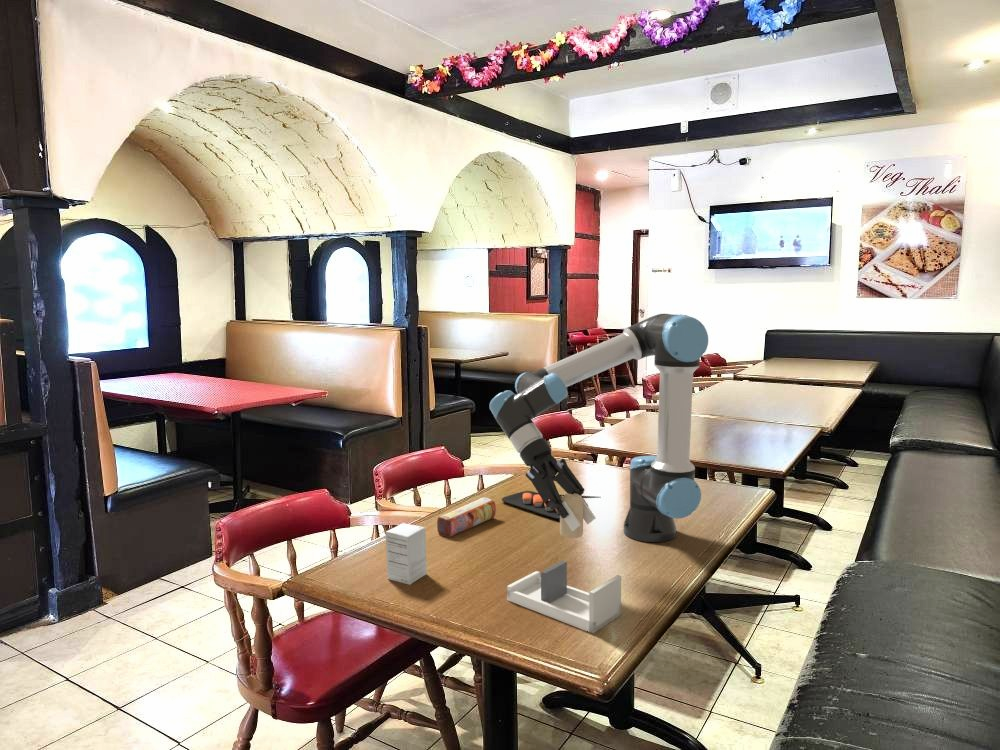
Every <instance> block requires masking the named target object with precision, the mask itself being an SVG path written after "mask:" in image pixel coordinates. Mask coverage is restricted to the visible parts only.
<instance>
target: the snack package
mask: <svg viewBox="0 0 1000 750" xmlns="http://www.w3.org/2000/svg"><path fill="white" fill-rule="evenodd" d="M496 512H497V506H496V502H495V501H494V500H493V499H491V498H488V497H485V496H484V497H481V498H478V499H476V500H474V501H472V502H470V503H467V504H465V505H463V506H460V507H458V508H456V509H454V510H452V511H449V512H447V513H445V514H442V515H439V516H438V517H437V521H436V524H437V526H436V527H437V533H438V535H440V536H443V537H446V538H451V537H453V536H455V535H457V534H459V533H461V532H464V531H467V530H469V529H472V528H473V527H475V526H477V525H481V524H483V523H485V522H487V521H489V520H493V519H494V518H495V516H496Z"/></svg>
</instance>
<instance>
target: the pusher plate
mask: <svg viewBox="0 0 1000 750" xmlns="http://www.w3.org/2000/svg"><path fill="white" fill-rule="evenodd" d="M540 576H541V600H542V601H544V602H547V603H551V602H553V601H555V600H556V599H558V598H560V597H561V596H563V595H565V594H567V586H568V562H567V561H565V560H561V561H559V562H557V563H555V564H553V565H552V566H550V567H547V568H546V569H543V570H541V572H540Z"/></svg>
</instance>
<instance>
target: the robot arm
mask: <svg viewBox="0 0 1000 750" xmlns="http://www.w3.org/2000/svg"><path fill="white" fill-rule="evenodd" d="M708 346H709V335H708V331H707V328H706V327H705V325H704V324H703V323H702V322H701V321H700V320H699V319H697V318H696V317H693V316H690V315H687V314H671V313H658V314H655V315H653V316H650V317H647V318H646V319H644V320H640V321H639V322H637V323H635V324H633V325H630V326H628V327H626V328H624V329H623V331H622V333H621V334H618V335H617V336H616V335H615V336H614V337H612V338H609V339H607V340H605V341H603V342H600V343H597V344H595V345H593V346H591V347H589V348H586V349H583V350H582V351H579V352H577V353H575V354H572V355H569V356H567V357H565V358H563V359H561V360H558V361H556V362H554V363H552V364H549V365H547V366H544V367H541V368H540V369H537V370H534V371H531V372H530V371H526V372H523V373H521V374H519V376H518V377H517V378H516V380H515V383H514V388H515V392H516V393H514V392H513V391H512V390H511V389H510V390H508V389H507V390H504V391H501V392H499V393H498V394H496V395H495V396H494V397H493V398H492V399H491V400H490V402H489V411H491V414H492V415H493V417H494V419H495V421H496V422H497V424H498V425H499V426H500V428H501V429H502V431H503V432H504V434H505V435H506V438H508V440H509V441H510V443H511V445H513V447H514V448H515V450H516V452H517V453H519V457H520V458H521V460H522V461H523V463H524V465H526V466H527V467H530V468H529V469H528V471H527V472H526V473H525V477H526V478H527V479H528V480H529V481H530V482H531V484H532V485H533V487H534V488H535V490H536V491H537V493H539V495H540V496H541V498H542V500H543V501H544V503H545V505H546V506H547V507H548V508H549V507H550V508H551V509H552V510H554V509H555V508H556V510H557V511H558V513H559V514H560V516H561V517H562V518H563V519H564V520H565V521H566V523H567V524H568V526H569V528H570V529H571V531H574V530H575V529H576V528H577V527H579V526H580V525H581V524H580V523H579V521H578V520H577V518H576V517H575V515H574V514H573V512H572V511H571V509H570V508H569V506H568V505H567V503H566V502H563V503H562V500H561V497H560V495H561V494H560V493H559V490H558V488H557V486H556V484H555V482H556V483H557V484H558V485H559V486H560V487H561V488H562V490H563V491H565V492H566V494H579V496H580V497H581V498H582V499H583V521H585V523H586V524H587V525H589V524H591V523H592V522H593V521H594V520H596V516H595V515H594V513H593V511H592V510H591V509H590V507H589V505H588V503H587V502H586V500H585V499H584V498H583V497H582V496H583V494H585V493H584V492H585V488H584V487H583V485H582V484H581V482H580V481H579V480H578V478H577V477H576V475H575V474H574V473H573V472H572V470H571V469H570V467H569V465H568V464H567V463H568V462H567V461H566V459H565V458H561V459H560V460H557V458H555V457H554V456H553V455H552V447H551V446H550V445H549V443H548V442H547V440H546V439H545V438H543V437H544V436H543V434H542V432H541V431H540V429H539V428H538V427H537V425H536V424H535V423H534V421H533V419H535V418H536V417H538V416H539V415H541V414H543V413H544V412H545V411H547V410H549V409H551V408H553V407H554V406H556V405H558V404H560V403H561V402H562V401H564V399H566V398H567V397H568V394H569V392H568V389H567V388H568V387H570V386H572V385H574V384H576V383H577V384H578V383H579V382H581V381H584V380H586V379H589V378H591V377H593V376H596V375H598V374H600V373H602V372H605V371H607V370H610V369H612V368H614V367H617V366H619V365H621V364H623V363H625V362H628V361H630V360H632V359H634V360H637V361H640V360H641V359H644V358H647V357H652V356H654V367H656V369H657V370H658V371H659V385H658V386H659V389H658V414H657V415H658V417H657V418H658V419H657V420H658V421H657V443H656V444H657V446H656V455H640V456H635V457H633V458H632V459H631V460H630V466H629V467H630V468H629V508H628V511H627V514H626V517H625V519H624V522H623V533H624V535H625V536H627V537H628V538H629V539H632V540H635V541H638V542H639V541H640V542H645V543H646V542H647V543H663V542H668V541H670V540H673V539H674V538H675V537H676V536H677V526H676V523H675V519H684V518H687V517H688V516H691V515H692V514H693V512H694V511H696V510H697V508H699V506H700V503H701V501H702V491H701V488H700V486H699V484H698V483H697V482H696V481H695V479H696V477H695V475H696V474H695V473H696V472H695V471H696V467H695V465H694V464H693V463H692V462H691V461H690V460H691V459H690V452H691V432H692V429H691V428H692V407H693V405H692V403H693V386H694V385H693V381H694V372H695V371H696V370H698V369H699V368H700V361H701V360H700V359H701V358H702V357H703V354H705V353H706V351H707V349H708ZM549 499H550V500H549Z"/></svg>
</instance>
